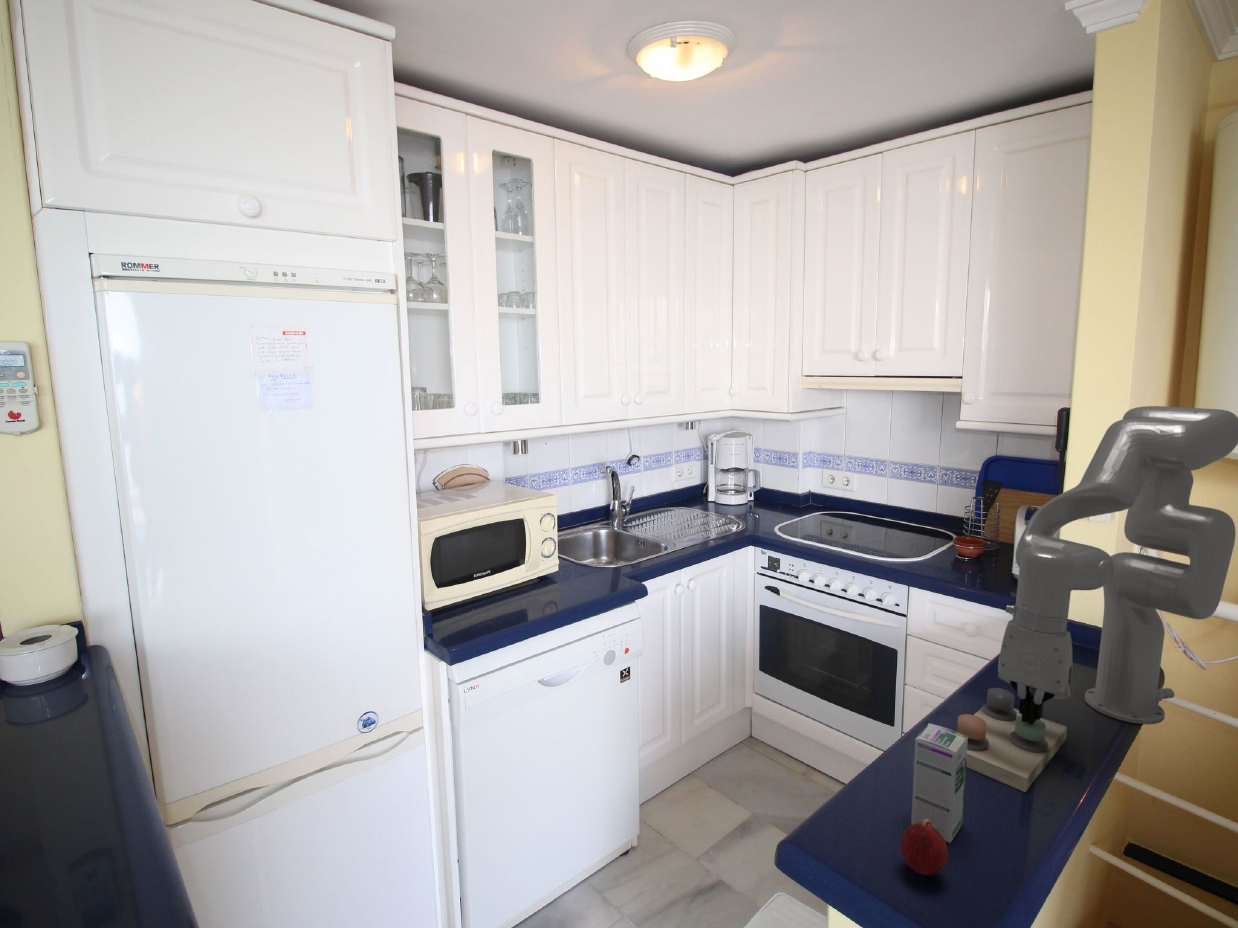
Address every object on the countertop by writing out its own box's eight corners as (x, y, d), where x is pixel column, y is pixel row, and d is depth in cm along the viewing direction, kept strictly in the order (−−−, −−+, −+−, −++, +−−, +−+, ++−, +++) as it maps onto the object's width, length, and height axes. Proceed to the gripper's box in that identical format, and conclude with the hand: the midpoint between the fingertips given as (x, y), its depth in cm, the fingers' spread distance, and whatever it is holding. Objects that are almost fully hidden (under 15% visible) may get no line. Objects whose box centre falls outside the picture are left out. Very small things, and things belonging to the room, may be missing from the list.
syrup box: (951, 844, 94) (958, 752, 92) (908, 825, 98) (915, 736, 96) (963, 824, 98) (970, 735, 96) (921, 806, 102) (928, 720, 100)
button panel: (988, 711, 129) (990, 696, 129) (1065, 739, 120) (1067, 723, 119) (942, 756, 115) (943, 739, 114) (1025, 792, 105) (1027, 774, 105)
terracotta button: (962, 722, 117) (963, 711, 117) (989, 732, 114) (990, 721, 114) (953, 731, 115) (953, 720, 114) (979, 742, 111) (980, 730, 111)
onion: (940, 897, 85) (944, 842, 84) (894, 876, 88) (897, 823, 87) (949, 869, 89) (954, 817, 88) (905, 851, 93) (908, 800, 92)
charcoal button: (991, 695, 127) (992, 685, 126) (1017, 704, 123) (1018, 693, 123) (983, 703, 124) (984, 693, 123) (1008, 713, 121) (1009, 701, 120)
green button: (1019, 723, 117) (1020, 712, 117) (1047, 734, 114) (1049, 722, 113) (1011, 733, 114) (1012, 721, 114) (1039, 744, 111) (1040, 732, 110)
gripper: (984, 612, 114) (975, 710, 116) (1086, 639, 102) (1073, 747, 105) (999, 602, 118) (990, 696, 121) (1099, 627, 107) (1086, 730, 110)
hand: (1029, 719), depth 113 cm, fingers closed
